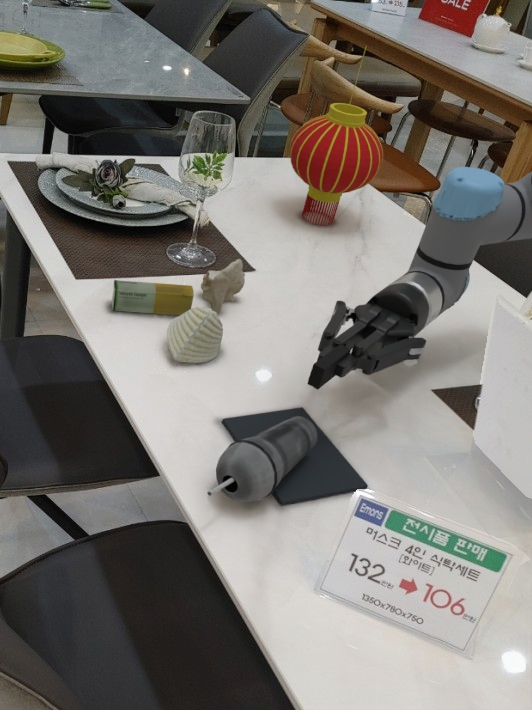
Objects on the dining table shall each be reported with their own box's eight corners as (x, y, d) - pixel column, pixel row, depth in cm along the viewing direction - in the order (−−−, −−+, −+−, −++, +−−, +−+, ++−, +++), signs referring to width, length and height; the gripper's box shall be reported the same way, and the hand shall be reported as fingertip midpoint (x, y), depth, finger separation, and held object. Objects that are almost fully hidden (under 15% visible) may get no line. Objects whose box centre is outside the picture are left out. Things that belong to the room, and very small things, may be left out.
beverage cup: (266, 436, 98) (169, 502, 85) (290, 393, 92) (191, 456, 79) (311, 472, 95) (219, 544, 83) (337, 429, 90) (244, 500, 77)
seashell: (239, 331, 111) (235, 329, 103) (201, 376, 113) (194, 378, 106) (196, 294, 111) (190, 290, 103) (159, 340, 113) (150, 339, 106)
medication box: (111, 312, 115) (113, 289, 112) (111, 301, 117) (113, 278, 114) (190, 317, 116) (194, 294, 113) (189, 306, 118) (193, 283, 115)
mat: (366, 489, 92) (368, 485, 92) (280, 505, 88) (282, 502, 88) (301, 410, 103) (302, 407, 102) (221, 422, 98) (222, 418, 98)
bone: (213, 273, 125) (248, 235, 116) (237, 304, 125) (273, 269, 117) (180, 291, 120) (214, 253, 112) (205, 324, 120) (240, 289, 112)
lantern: (316, 196, 159) (363, 30, 139) (378, 231, 150) (437, 59, 129) (256, 207, 151) (296, 32, 130) (317, 244, 142) (370, 63, 121)
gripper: (436, 355, 102) (355, 429, 87) (350, 315, 107) (260, 379, 92) (458, 304, 97) (377, 374, 82) (367, 265, 102) (275, 324, 87)
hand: (315, 376), depth 87 cm, fingers closed
